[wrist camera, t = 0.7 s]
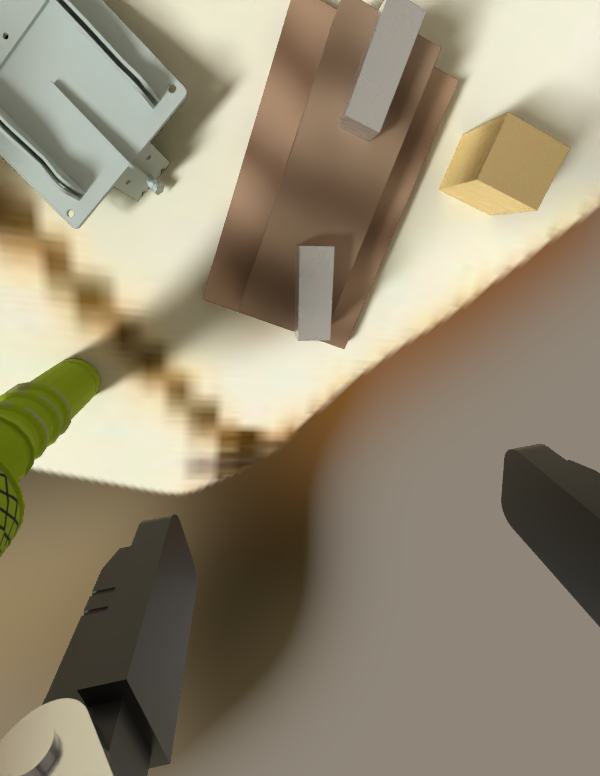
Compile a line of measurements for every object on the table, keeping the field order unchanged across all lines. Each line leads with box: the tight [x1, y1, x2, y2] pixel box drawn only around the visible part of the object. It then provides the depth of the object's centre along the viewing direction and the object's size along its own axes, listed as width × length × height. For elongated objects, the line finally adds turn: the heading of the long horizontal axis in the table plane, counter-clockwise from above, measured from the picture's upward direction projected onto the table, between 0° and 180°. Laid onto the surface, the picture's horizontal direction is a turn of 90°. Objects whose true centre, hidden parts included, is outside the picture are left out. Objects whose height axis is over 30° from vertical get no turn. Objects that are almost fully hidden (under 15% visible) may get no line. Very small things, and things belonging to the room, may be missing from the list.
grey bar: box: [295, 0, 426, 341], centre depth 24 cm, size 19×4×2 cm, turn 159°
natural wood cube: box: [439, 112, 569, 215], centre depth 28 cm, size 5×4×6 cm
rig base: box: [202, 0, 458, 349], centre depth 27 cm, size 20×12×4 cm, turn 159°
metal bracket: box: [0, 0, 187, 229], centre depth 25 cm, size 14×6×15 cm
